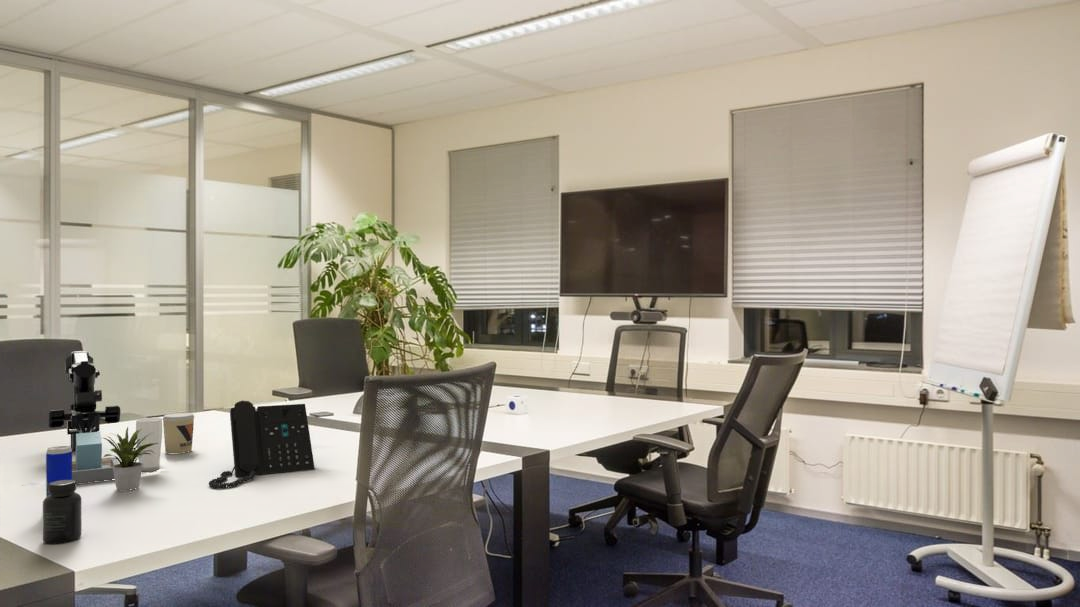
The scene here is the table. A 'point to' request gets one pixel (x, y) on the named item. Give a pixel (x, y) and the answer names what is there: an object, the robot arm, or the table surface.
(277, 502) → the table surface
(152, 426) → the white tall tapered cylinder
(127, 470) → the house plant
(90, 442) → the block
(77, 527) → the supplement bottle
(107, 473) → the box
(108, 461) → the board
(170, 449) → the coffee cup
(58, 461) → the beverage can
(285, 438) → the office phone
